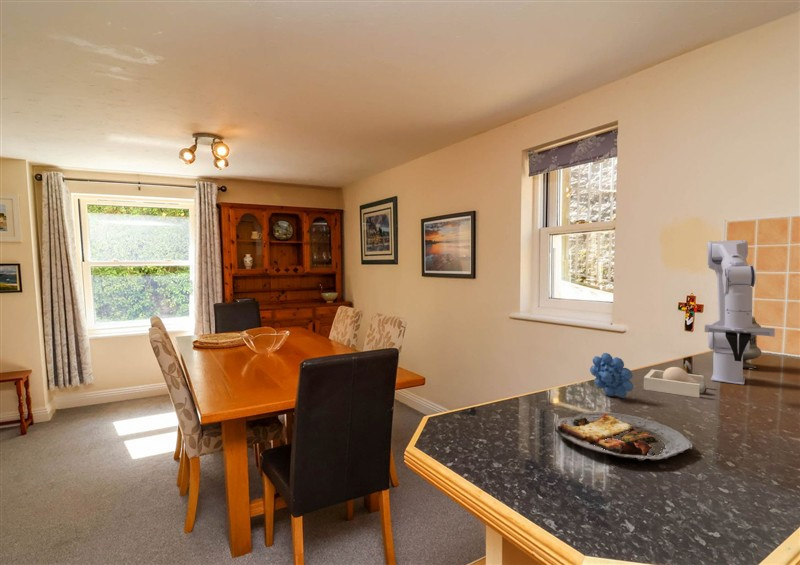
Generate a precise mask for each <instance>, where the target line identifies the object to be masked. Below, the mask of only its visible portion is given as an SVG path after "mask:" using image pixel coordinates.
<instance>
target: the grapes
mask: <svg viewBox="0 0 800 565" xmlns="http://www.w3.org/2000/svg"><path fill="white" fill-rule="evenodd" d="M592 363H593V365H591V366H590V368H589V371H590V374H591V375H592V376H593V377H595V378H594V380H593V381H594V384H595V385H596V386H597V387H598V388H600V389H603V390H604V393H605V394H606V395H607V396H609V397H611V396H612V397H614V396H615V395H616V396H617V397H619V398H621V399H623V398H626V397H627V396H628V392H632V391H633V390H634V384H633V382H632V381H631V379H633V372H632V371H631V370H630V368H627V367H625V362H624V361H623V359H622V358H620V357H613V356H612V355H611V354H610V353H607V352H603V353H602V354H601V356H598V355H597V356H596V355H595V356H593V358H592Z"/></svg>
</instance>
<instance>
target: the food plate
mask: <svg viewBox="0 0 800 565" xmlns="http://www.w3.org/2000/svg"><path fill="white" fill-rule="evenodd" d="M553 425H554V426H553V427H554V431H555V432H556V433H557V434H558V435H559V437H561V438H564V439H565V440H567V441H569V442H571V443H572V444H575V445H577V446H579V447H581V449H586V450H589V451H591V452H592V451H593V452H595V453H599V454H607V455H610V456H615V457H617V458H620V459H629V460H630V459H632V460H634V461H636V460H637V461H640V462H642V461H644V460H647V459H649V461H652V462H654V461H658V460H664V459H665V460H668V459H669V458H670V457H673V456H677V455H678V454H680V453H684V452H685V451H686V450H688V449H690V450H692V449H693V446H694V445H693V443H692V442H691V440H689V439H688V438H687V437H686V436H684V434H682V433H681V432H679V431H678V430H676V429H674V428H672V427H670V426H667V424H663V423H661V422H658V421H655V420H650V419H646V418H644V417H640V416H634V415H630V414H623V413H619V412H617V413H616V412H608V411H607V412H606V411H592V412H591V411H589V412H588V411H583V412H582V411H579V412H578V411H577V412H575V413H571V414H567V415H565V416H562V417H560V418H557V419H555V421H554V423H553ZM631 428H636V429H637V431H636V430H630V429H631ZM629 430H630V432H628V433H627V434H625V435H624V436H623V437H622V441H621V440H618V439H614V438H613V436H616V435H619V434H620V433H623V432H625V431H629ZM638 430H640V431H638ZM650 434H652V435H653V436H651V435H650ZM654 436H655V437H657V438H658V439H660V440H661V441H662V442H663V443H664V444H665V448H666V449H663V450H662V451H663V452H664V453H663V452H662V453H661V454H659V455H654V456H647V453H648V452H650V450H651V449H654V448H653V447H652V445H651V444H648V443H649V442H646V441H650V442H652V441H651V440H656V439H657V438H655V437H654ZM607 438H612V440H611V439H608V441H607V440H605V439H607ZM658 439H657V440H658ZM660 440H659V441H660ZM662 442H661V443H662ZM663 443H662V444H663ZM594 445H595V446H594ZM601 448H603V449H601ZM604 449H605V450H604ZM635 458H636V459H635Z"/></svg>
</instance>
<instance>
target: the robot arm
mask: <svg viewBox="0 0 800 565" xmlns="http://www.w3.org/2000/svg"><path fill="white" fill-rule="evenodd" d="M748 254H749V244H748V241H747V240H746V239H740V240H739V239H736V240H717V241H712V240H710V241H708V242H707V245H706V257H707V266H708V269H710V270H713V271H714V273H715V275H716V279H717V282H716V283H717V301H718V302H717V308H718V312H717V313H718V319H717V320H715V321H714V322H711V324H704V333H707V346H708V348H709V350H712V351H713V356H712V357H713V358H712V360H713V361H712V362H713V365H712V366H713V367H712V368H713V369H712V370H713V371H712V375H711V378H710V380H711V381H714V382H721V383H727V384H728V383H729V384H736V385H745V381H746V378H745V376H743V375H744V369H743V354H744V352H747V351H748V350H749V346H750V339H751V335H757V336H763V337H772V338H775V336H776V335H775V334H776V332H775V330H776V329H775V328H773V327H772V328H770V327H752V316H753V288H754V287H755V284H756V276H757V275H756V269H755V266H754V265H752V264H750V265H749V263H748V261H747V258H748ZM749 332H750V333H749Z"/></svg>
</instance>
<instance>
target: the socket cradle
mask: <svg viewBox="0 0 800 565" xmlns="http://www.w3.org/2000/svg"><path fill="white" fill-rule="evenodd" d="M664 372H665V370H660V369H653V368H651V369H650V371H649V372H648V373H647V374H645V375H644V377H643V390H644V391H645V390H646V391H653V392H659V393H666V394H672V395H678V396H679V395H680V396H686V397H691V398H692V397H693V398H698V399H700V396H701V394H700V384H695V383H688V382H680V381H673V380H666V379H663V373H664ZM688 374H689V375H690V376H691V377H692V378H693V379H695V380H697V381H698V382H699V383H701V384H704V383H705V382H704V381H705V380H704V375H700V374H692V373H688ZM704 385H705V384H704Z"/></svg>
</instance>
